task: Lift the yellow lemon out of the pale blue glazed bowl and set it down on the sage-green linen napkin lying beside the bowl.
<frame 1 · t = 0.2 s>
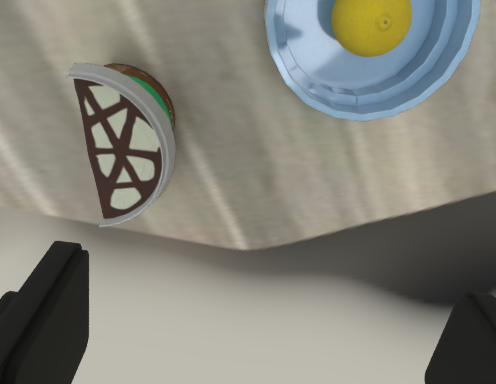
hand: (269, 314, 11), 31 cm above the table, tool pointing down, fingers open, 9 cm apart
lemon: (357, 12, 37), resting on bowl
food container: (154, 114, 41), on the table
bowl: (357, 12, 37), on the table
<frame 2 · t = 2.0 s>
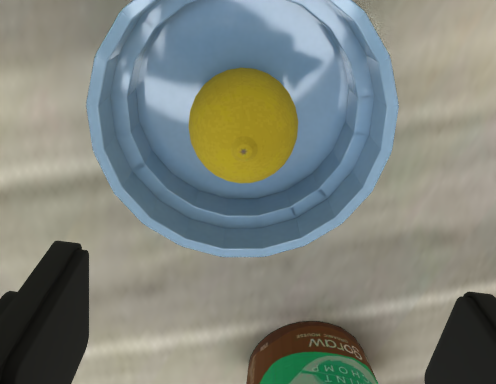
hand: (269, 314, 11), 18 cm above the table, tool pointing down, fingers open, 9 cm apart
lemon: (242, 103, 27), resting on bowl
food container: (313, 338, 35), on the table
bowl: (242, 103, 27), on the table
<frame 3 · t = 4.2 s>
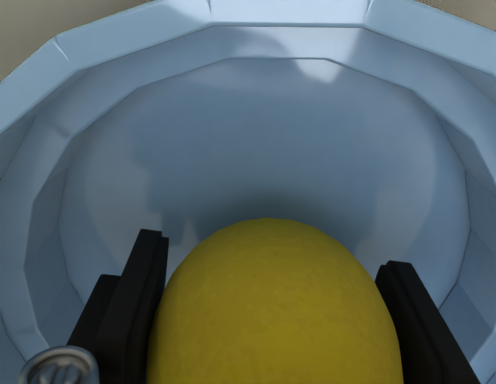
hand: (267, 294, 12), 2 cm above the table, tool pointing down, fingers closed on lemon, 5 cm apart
lemon: (264, 249, 14), resting on bowl, touching gripper
bowl: (263, 247, 14), on the table
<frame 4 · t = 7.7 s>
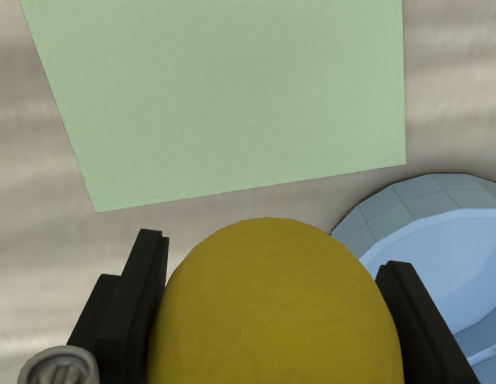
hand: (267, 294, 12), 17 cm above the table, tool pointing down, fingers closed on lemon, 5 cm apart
napkin: (227, 87, 26), on the table
lemon: (264, 249, 14), point 14 cm above the table, touching gripper
bowl: (425, 271, 32), on the table
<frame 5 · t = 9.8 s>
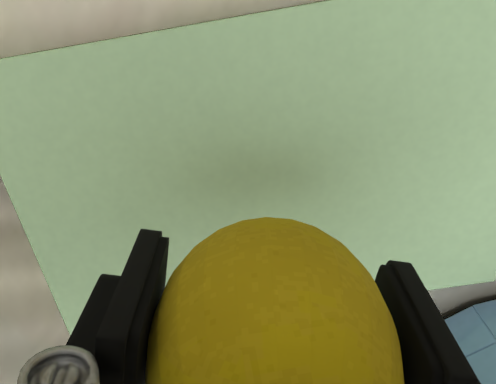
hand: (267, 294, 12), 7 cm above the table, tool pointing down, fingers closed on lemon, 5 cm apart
napkin: (255, 183, 19), on the table
lemon: (264, 248, 14), point 5 cm above the table, touching gripper
when the fingers open (2 cm above the table, at t = 11.4 s): lemon stays where it is, resting on napkin.
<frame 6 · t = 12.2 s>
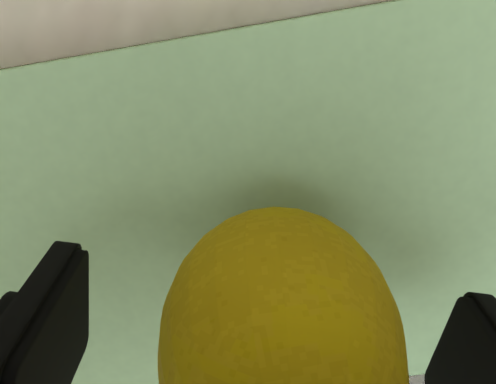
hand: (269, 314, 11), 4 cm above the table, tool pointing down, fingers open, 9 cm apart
napkin: (268, 239, 15), on the table
lemon: (270, 239, 14), resting on napkin
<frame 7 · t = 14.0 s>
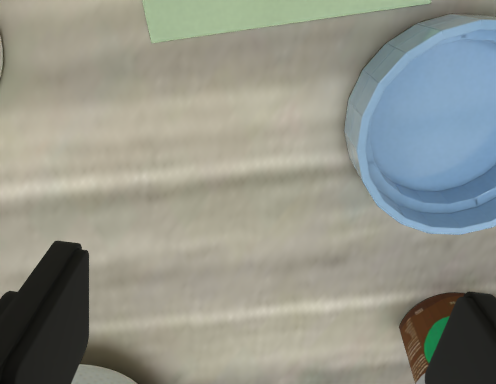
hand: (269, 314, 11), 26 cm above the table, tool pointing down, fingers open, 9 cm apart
food container: (454, 307, 44), on the table
bowl: (441, 117, 35), on the table
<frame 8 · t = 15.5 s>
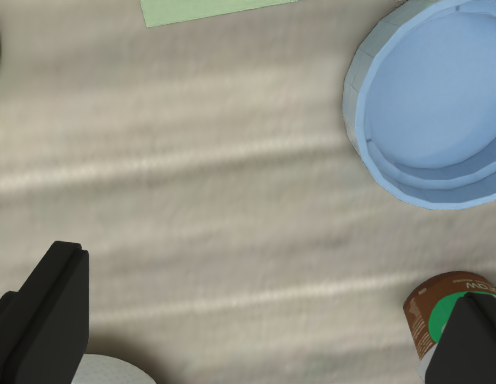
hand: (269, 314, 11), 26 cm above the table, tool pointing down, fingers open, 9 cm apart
food container: (458, 286, 44), on the table
bowl: (439, 94, 35), on the table
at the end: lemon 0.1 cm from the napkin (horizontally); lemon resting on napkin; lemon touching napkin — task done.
